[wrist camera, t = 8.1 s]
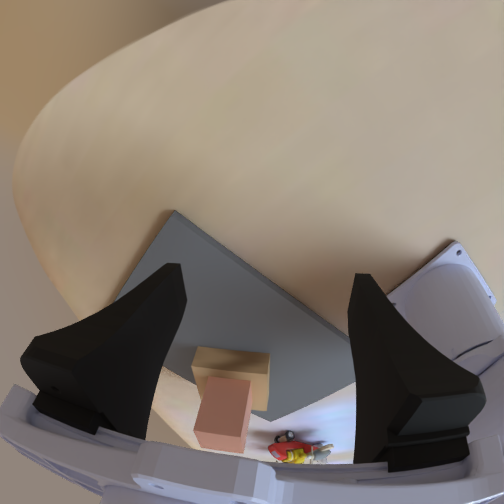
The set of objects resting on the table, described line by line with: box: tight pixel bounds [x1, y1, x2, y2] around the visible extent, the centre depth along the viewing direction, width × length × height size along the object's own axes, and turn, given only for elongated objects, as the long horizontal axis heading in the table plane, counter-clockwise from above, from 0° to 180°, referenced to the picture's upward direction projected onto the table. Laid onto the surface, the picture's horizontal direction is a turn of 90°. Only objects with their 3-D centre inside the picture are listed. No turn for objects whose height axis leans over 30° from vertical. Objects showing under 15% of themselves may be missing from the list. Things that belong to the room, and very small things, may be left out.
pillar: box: [193, 376, 252, 454], centre depth 26 cm, size 4×4×6 cm
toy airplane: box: [268, 431, 334, 464], centre depth 38 cm, size 9×9×6 cm
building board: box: [113, 211, 356, 422], centre depth 30 cm, size 24×17×1 cm
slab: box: [191, 346, 270, 411], centre depth 30 cm, size 7×7×2 cm
